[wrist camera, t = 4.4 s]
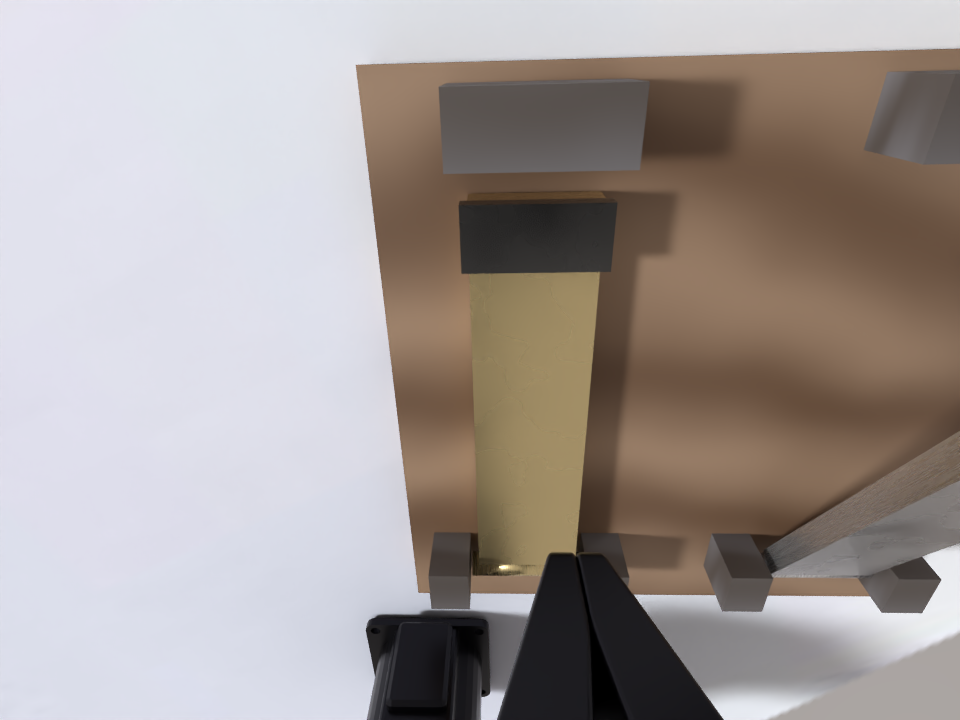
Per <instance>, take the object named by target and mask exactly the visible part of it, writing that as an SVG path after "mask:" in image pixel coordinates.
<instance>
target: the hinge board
mask: <svg viewBox="0 0 960 720" xmlns="http://www.w3.org/2000/svg"><path fill="white" fill-rule="evenodd" d="M356 70H357V79H358V87H359V95H360V104H361V112H362V121H363V129H364V138H365V146H366V154H367V163H368V171H369V180H370V188H371V196H372V205H373V213H374V222H375V230H376V239H377V247H378V255H379V264H380V272H381V281H382V289H383V297H384V306H385V314H386V323H387V331H388V340H389V348H390V356H391V365H392V373H393V382H394V390H395V398H396V407H397V415H398V424H399V432H400V441H401V449H402V457H403V466H404V474H405V483H406V491H407V499H408V508H409V516H410V525H411V533H412V542H413V550H414V558H415V567H416V575H417V584H418V592H419V593H430V598H431V607H432V609H470V594H471V593H510V594H536V591H537V588H538V585H539V581H540V578H541V576H473V575H472V554H473V551H479V546H478V517H477V488H476V458H475V429H474V400H473V370H472V341H471V311H470V282H469V274H461V253H460V229H459V202H460V201H467V197H468V194H474V193H529V192H583V191H601V192H602V194H603V195H604V196H605V197H606V198H614V199H615V200H616V201H617V202H618V204H617V215H616V225H615V235H614V246H613V256H612V266H611V272H600V278H599V290H598V302H597V313H596V325H595V336H594V348H593V360H592V371H591V383H590V394H589V406H588V417H587V429H586V441H585V452H584V464H583V475H582V487H581V498H580V510H579V522H578V533H577V545H576V552H598V553H602V554H604V555H605V556H606V558H607V559H608V560H609V562H610V563H611V564H612V566H613V567H614V569H615V570H616V571H617V573H618V574H619V575H620V577H621V578H622V580H623V581H624V582H625V584H626V585H627V587H628V588H629V589H630V591H631V592H632V593H633V594H641V595H716V597H717V600H718V602H719V605H720V607H721V610H722V611H752V612H762V610H763V607H764V604H765V601H766V598H767V596H768V595H772V596H870V597H871V598H872V599H873V601H874V602H875V604H876V605H877V607H878V608H879V609H880V611H881V612H882V613H922V612H923V611H924V609H925V607H926V605H927V604H928V602H929V600H930V599H931V597H932V595H933V593H934V592H935V590H936V588H937V586H938V585H939V583H940V581H941V579H940V577H939V576H938V575H937V574H936V573H935V572H934V570H933V569H932V568H931V567H930V566H929V565H928V563H927V562H926V561H925V560H924V559H923V558H922V557H919V558H916V559H913V560H911V561H908V562H905V563H902V564H900V565H897V566H894V567H891V568H889V569H886V570H883V571H880V572H877V573H875V574H873V575H872V577H871V578H773V577H772V575H771V573H770V571H769V569H768V567H767V565H766V564H765V562H764V560H763V558H762V556H761V554H760V552H764V551H763V550H764V549H765V548H767V547H769V546H770V545H772V544H774V543H775V542H777V541H779V540H780V539H782V538H784V537H785V536H787V535H789V534H790V533H792V532H794V531H795V530H797V529H799V528H800V527H802V526H803V525H805V524H807V523H808V522H810V521H812V520H813V519H815V518H817V517H818V516H820V515H822V514H823V513H825V512H827V511H828V510H830V509H832V508H833V507H835V506H837V505H838V504H840V503H841V502H843V501H845V500H846V499H848V498H850V497H851V496H853V495H855V494H856V493H858V492H860V491H861V490H863V489H865V488H866V487H868V486H870V485H871V484H873V483H875V482H876V481H878V480H879V479H881V478H883V477H884V476H886V475H888V474H889V473H891V472H893V471H894V470H896V469H898V468H899V467H901V466H903V465H904V464H906V463H908V462H909V461H911V460H912V459H914V458H916V457H917V456H919V455H921V454H922V453H924V452H926V451H927V450H929V449H931V448H932V447H934V446H936V445H937V444H939V443H941V442H942V441H944V440H946V439H947V438H949V437H950V436H952V435H954V434H955V433H957V432H959V431H960V49H932V50H895V51H857V52H820V53H783V54H745V55H708V56H670V57H633V58H596V59H558V60H521V61H483V62H446V63H409V64H371V65H356Z"/></svg>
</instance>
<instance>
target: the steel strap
mask: <svg viewBox="0 0 960 720" xmlns="http://www.w3.org/2000/svg"><path fill="white" fill-rule="evenodd" d="M958 543H960V431H959V432H957V433H955V434H954V435H952V436H950V437H949V438H947V439H946V440H944V441H942V442H941V443H939V444H937V445H936V446H934V447H932V448H931V449H929V450H927V451H926V452H924V453H922V454H921V455H919V456H917V457H916V458H914V459H912V460H911V461H909V462H908V463H906V464H904V465H903V466H901V467H899V468H898V469H896V470H894V471H893V472H891V473H889V474H888V475H886V476H884V477H883V478H881V479H879V480H878V481H876V482H875V483H873V484H871V485H870V486H868V487H866V488H865V489H863V490H861V491H860V492H858V493H856V494H855V495H853V496H851V497H850V498H848V499H846V500H845V501H843V502H841V503H840V504H838V505H837V506H835V507H833V508H832V509H830V510H828V511H827V512H825V513H823V514H822V515H820V516H818V517H817V518H815V519H813V520H812V521H810V522H808V523H807V524H805V525H803V526H802V527H800V528H799V529H797V530H795V531H794V532H792V533H790V534H789V535H787V536H785V537H784V538H782V539H780V540H779V541H777V542H775V543H774V544H772V545H770V546H769V547H767V548H765V549H764V550H763V551H764V552H760V554H761V556H762V558H763V560H764V562H765V564H766V565H767V567H768V569H769V571H770V573H771V575H772V577H773V578H871V577H872V575H873V574H875V573H877V572H880V571H883V570H886V569H889V568H891V567H894V566H897V565H900V564H902V563H905V562H908V561H911V560H913V559H916V558H919V557H922V556H925V555H927V554H930V553H933V552H936V551H938V550H941V549H944V548H947V547H949V546H952V545H955V544H958Z"/></svg>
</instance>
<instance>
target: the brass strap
mask: <svg viewBox="0 0 960 720" xmlns="http://www.w3.org/2000/svg"><path fill="white" fill-rule="evenodd" d="M617 204H618V202H617V201H616V200H615V199H614V198H606V197H605V196H604V195H603V194H602V192H601V191H583V192H529V193H474V194H468V197H467V201H460V202H459V229H460V253H461V274H469V282H470V311H471V341H472V370H473V400H474V429H475V458H476V488H477V517H478V546H479V551H473V554H472V575H473V576H541V575H542V572H543V568H544V565H545V562H546V559H547V556H548V554H549V553H551V552H571V553H573V554H574V555H575V556H576V555H577V554H578V553H580V552H576V545H577V533H578V522H579V510H580V498H581V487H582V475H583V464H584V452H585V441H586V429H587V417H588V406H589V394H590V383H591V371H592V360H593V348H594V336H595V325H596V313H597V302H598V290H599V278H600V272H611V266H612V256H613V246H614V235H615V225H616V215H617Z"/></svg>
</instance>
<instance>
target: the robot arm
mask: <svg viewBox="0 0 960 720" xmlns="http://www.w3.org/2000/svg"><path fill="white" fill-rule="evenodd" d="M366 633H367V638H368V643H369V648H370V653H371V658H372V663H373V668H374V673H375V681H374V686H373V691H372V696H371V701H370V706H369V711H368V716H367V720H481V697H485V696H488V695H489V694H490V658H489V625H488V622H487V621H485V620H482V619H421V618H372V619H370V620H369V621H368V623H367V628H366ZM497 720H724V719H723V718H722V717H721V715H720V714H719V713H718V711H717V710H716V708H715V707H714V706H713V704H712V703H711V701H710V700H709V699H708V697H707V696H706V695H705V693H704V692H703V690H702V689H701V688H700V686H699V685H698V683H697V682H696V681H695V679H694V678H693V677H692V675H691V674H690V672H689V671H688V670H687V668H686V667H685V665H684V664H683V663H682V661H681V660H680V659H679V657H678V656H677V654H676V653H675V652H674V650H673V649H672V647H671V646H670V645H669V643H668V642H667V641H666V639H665V638H664V636H663V635H662V634H661V632H660V631H659V629H658V628H657V627H656V625H655V624H654V623H653V621H652V620H651V618H650V617H649V616H648V614H647V613H646V611H645V610H644V609H643V607H642V606H641V605H640V603H639V602H638V600H637V599H636V598H635V596H634V595H633V593H632V592H631V591H630V589H629V588H628V587H627V585H626V584H625V582H624V581H623V580H622V578H621V577H620V575H619V574H618V573H617V571H616V570H615V569H614V567H613V566H612V564H611V563H610V562H609V560H608V559H607V558H606V556H605V555H604V554H602V553H598V552H580V553H578V554H577V555H576V556H575V555H574V554H573V553H571V552H551V553H549V554H548V556H547V559H546V562H545V565H544V568H543V572H542V575H541V578H540V581H539V585H538V588H537V591H536V594H535V598H534V601H533V604H532V607H531V611H530V614H529V617H528V620H527V624H526V627H525V630H524V634H523V637H522V640H521V643H520V647H519V650H518V653H517V656H516V660H515V663H514V666H513V669H512V673H511V676H510V679H509V682H508V686H507V689H506V692H505V695H504V699H503V702H502V705H501V708H500V712H499V715H498V718H497Z"/></svg>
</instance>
